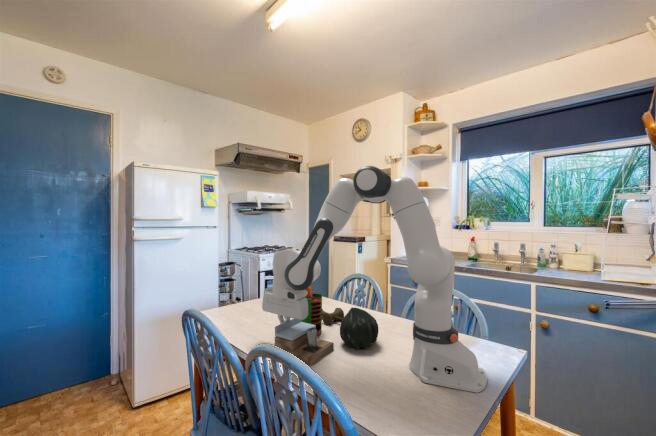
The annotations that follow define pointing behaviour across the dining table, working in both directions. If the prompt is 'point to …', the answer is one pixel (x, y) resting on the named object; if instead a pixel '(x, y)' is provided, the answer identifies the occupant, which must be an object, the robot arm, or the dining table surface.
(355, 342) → the squash
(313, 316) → the motor
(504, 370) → the dining table surface
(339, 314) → the brown rope toy
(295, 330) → the lid
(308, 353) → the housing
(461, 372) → the robot arm
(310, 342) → the jaw peg
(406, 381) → the dining table surface
